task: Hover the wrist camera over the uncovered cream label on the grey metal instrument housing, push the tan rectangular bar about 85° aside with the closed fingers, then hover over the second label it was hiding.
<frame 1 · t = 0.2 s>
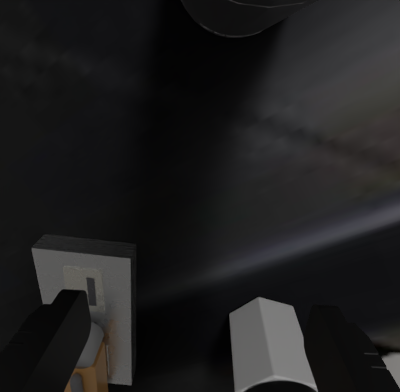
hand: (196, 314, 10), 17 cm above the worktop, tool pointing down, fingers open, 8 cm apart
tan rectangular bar: (82, 376, 32), point 5 cm above the worktop, hinge at 0.0°
housing: (96, 310, 35), on the worktop
jar: (262, 320, 35), on the worktop
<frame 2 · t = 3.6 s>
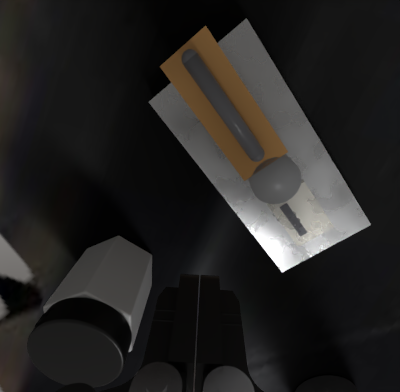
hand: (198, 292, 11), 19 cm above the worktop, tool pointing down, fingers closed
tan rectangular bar: (239, 128, 21), point 5 cm above the worktop, hinge at 0.0°
housing: (263, 160, 28), on the worktop
jar: (120, 265, 34), on the worktop
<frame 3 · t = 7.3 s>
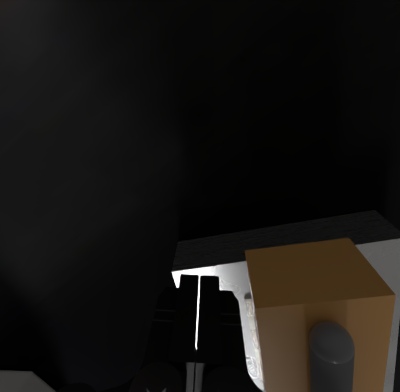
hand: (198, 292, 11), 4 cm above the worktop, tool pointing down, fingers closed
housing: (290, 366, 18), on the worktop
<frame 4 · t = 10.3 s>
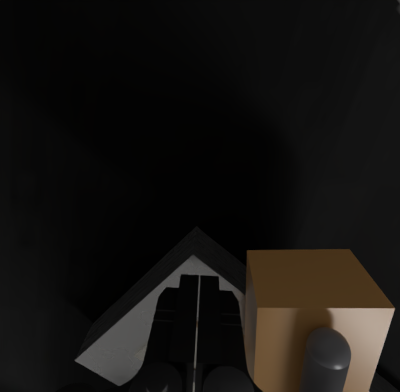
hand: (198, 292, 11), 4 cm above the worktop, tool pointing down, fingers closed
housing: (267, 370, 19), on the worktop
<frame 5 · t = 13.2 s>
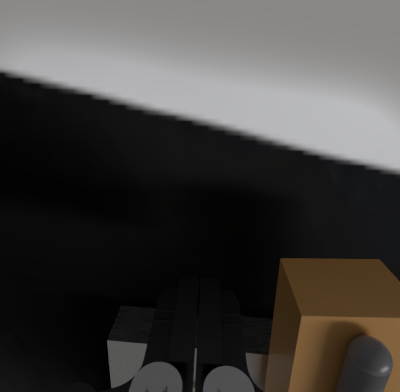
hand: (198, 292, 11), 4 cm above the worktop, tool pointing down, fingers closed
housing: (281, 373, 19), on the worktop
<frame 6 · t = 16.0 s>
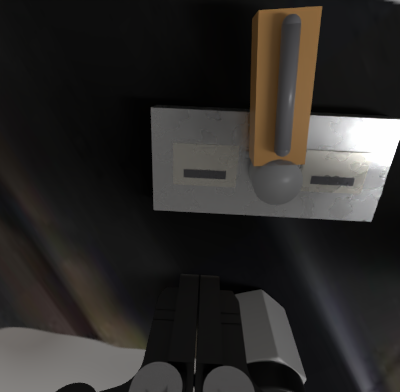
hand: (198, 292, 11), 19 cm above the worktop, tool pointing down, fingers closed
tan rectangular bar: (279, 118, 21), point 5 cm above the worktop, hinge at 84.8°
housing: (264, 161, 28), on the worktop
jar: (249, 312, 37), on the worktop
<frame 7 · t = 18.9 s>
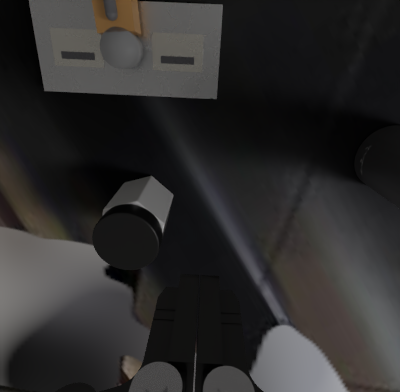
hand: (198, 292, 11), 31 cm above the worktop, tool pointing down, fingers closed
housing: (133, 52, 35), on the worktop
jar: (146, 200, 44), on the worktop
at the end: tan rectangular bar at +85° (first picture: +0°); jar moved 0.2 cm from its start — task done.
